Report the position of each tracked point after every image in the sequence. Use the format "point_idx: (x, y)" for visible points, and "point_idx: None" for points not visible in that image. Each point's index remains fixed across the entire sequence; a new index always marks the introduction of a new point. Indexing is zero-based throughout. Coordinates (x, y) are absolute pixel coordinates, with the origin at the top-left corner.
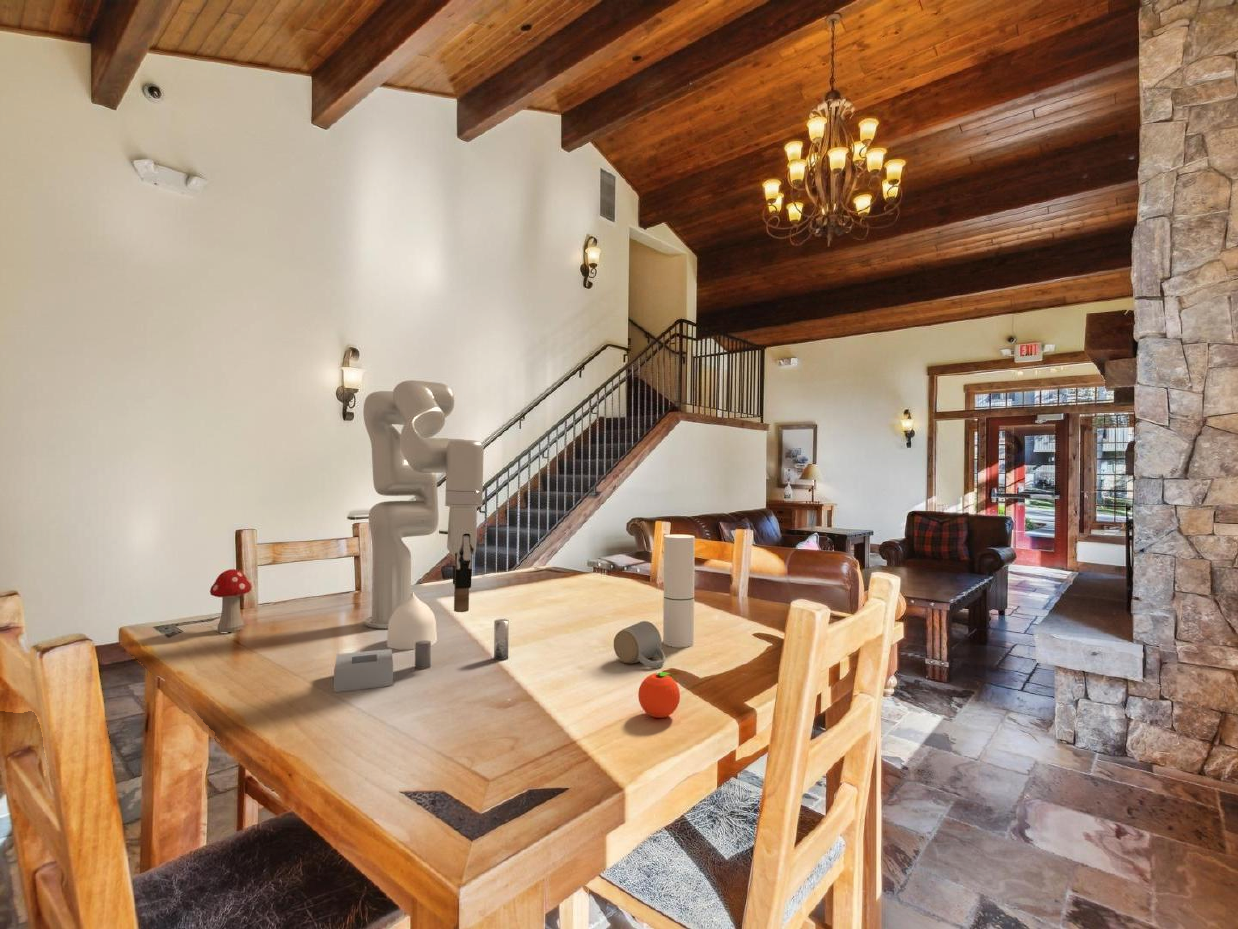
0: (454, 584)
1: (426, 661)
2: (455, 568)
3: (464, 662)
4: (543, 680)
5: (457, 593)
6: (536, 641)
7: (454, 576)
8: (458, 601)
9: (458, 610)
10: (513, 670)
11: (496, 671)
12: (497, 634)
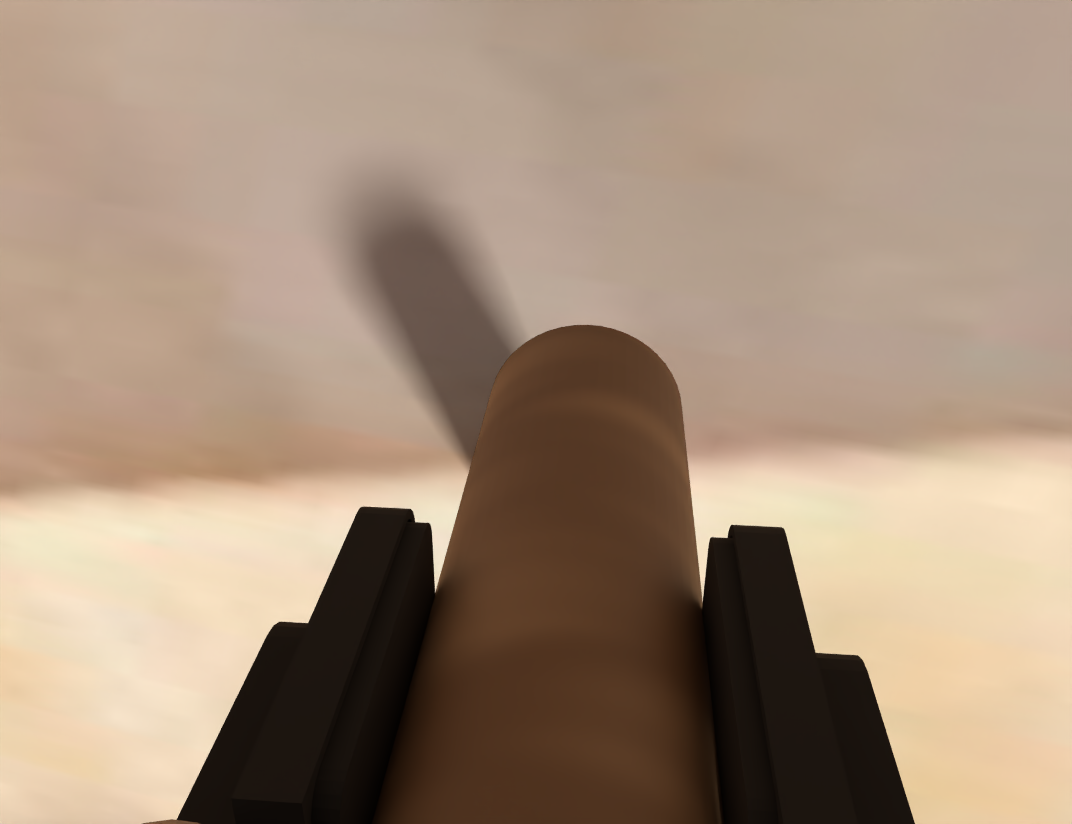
0: (724, 538)
1: None
2: (481, 821)
3: (553, 246)
4: (41, 619)
5: (484, 485)
6: None
7: (725, 646)
8: (482, 434)
9: (501, 377)
10: (263, 517)
11: (271, 418)
12: None
